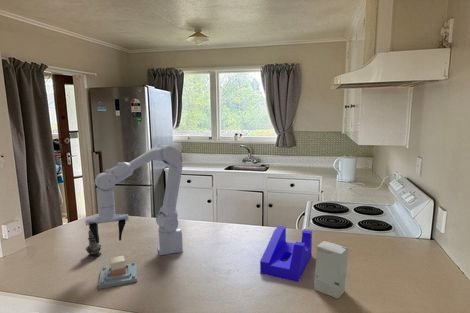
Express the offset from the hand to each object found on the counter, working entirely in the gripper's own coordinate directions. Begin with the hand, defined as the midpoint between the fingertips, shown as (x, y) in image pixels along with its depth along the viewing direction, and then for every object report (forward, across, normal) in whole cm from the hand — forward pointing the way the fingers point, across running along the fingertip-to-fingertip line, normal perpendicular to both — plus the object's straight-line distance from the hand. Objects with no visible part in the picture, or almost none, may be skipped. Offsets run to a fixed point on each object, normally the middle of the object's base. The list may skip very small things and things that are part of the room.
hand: (109, 241), depth 114 cm
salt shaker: (+10, +7, -12) cm, 17 cm away
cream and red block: (+9, -3, +9) cm, 13 cm away
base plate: (+10, -3, +9) cm, 14 cm away
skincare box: (+10, -67, +42) cm, 80 cm away
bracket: (+10, -63, +22) cm, 67 cm away
